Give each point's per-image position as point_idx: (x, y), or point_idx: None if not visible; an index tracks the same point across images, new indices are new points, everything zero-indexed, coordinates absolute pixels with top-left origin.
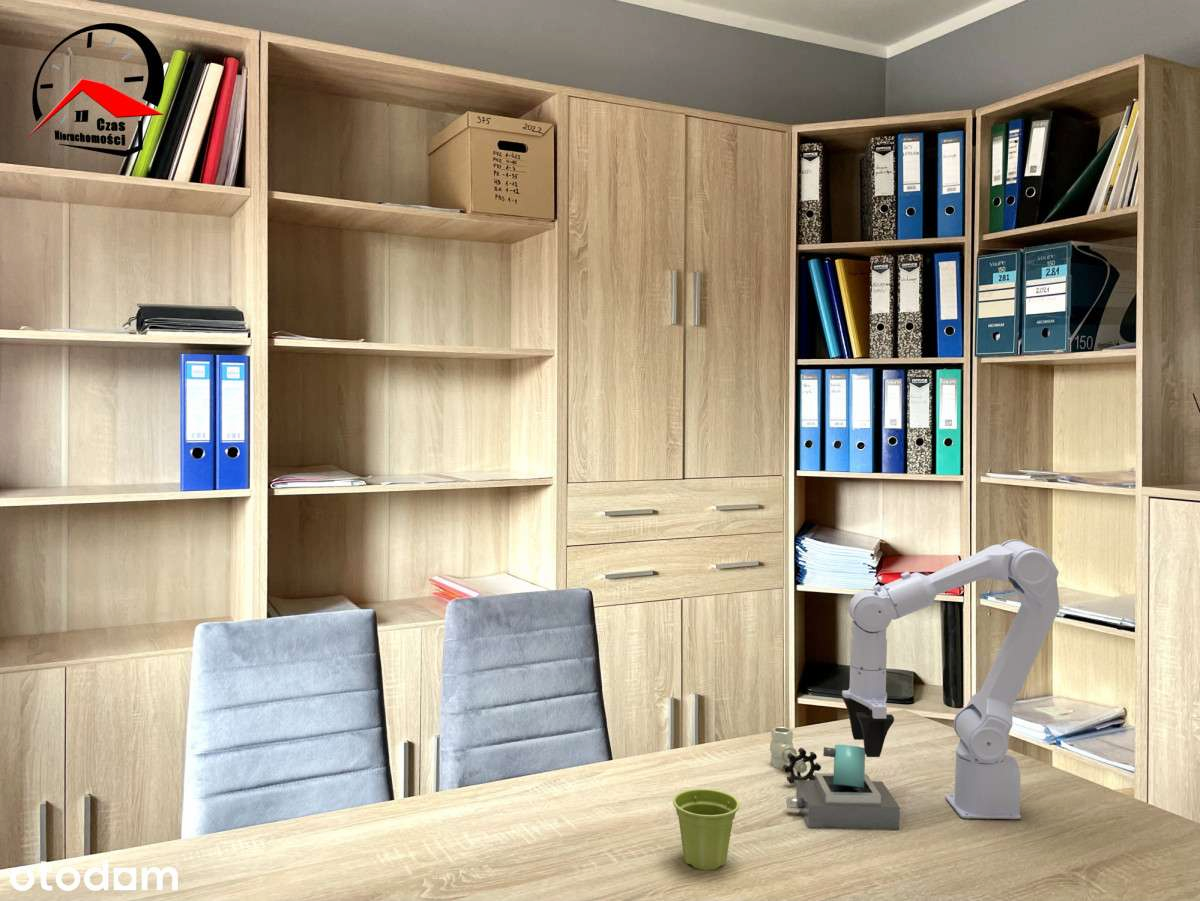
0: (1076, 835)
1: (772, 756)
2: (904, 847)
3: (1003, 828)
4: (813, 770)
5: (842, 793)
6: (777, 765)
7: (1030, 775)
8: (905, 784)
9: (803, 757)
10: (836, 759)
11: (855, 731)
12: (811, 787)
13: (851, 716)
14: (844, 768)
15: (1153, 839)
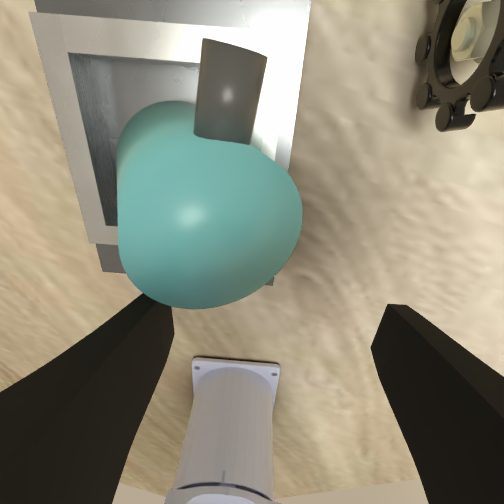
0: (158, 439)
1: None
2: (43, 224)
3: (166, 388)
4: (441, 96)
5: (68, 107)
6: None
7: (345, 467)
8: (356, 328)
9: (502, 25)
10: (169, 127)
11: (409, 340)
12: (225, 3)
13: (498, 423)
14: (123, 153)
15: (160, 480)
